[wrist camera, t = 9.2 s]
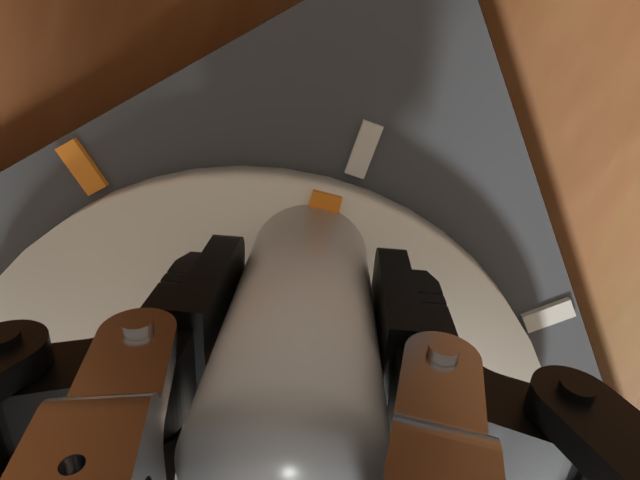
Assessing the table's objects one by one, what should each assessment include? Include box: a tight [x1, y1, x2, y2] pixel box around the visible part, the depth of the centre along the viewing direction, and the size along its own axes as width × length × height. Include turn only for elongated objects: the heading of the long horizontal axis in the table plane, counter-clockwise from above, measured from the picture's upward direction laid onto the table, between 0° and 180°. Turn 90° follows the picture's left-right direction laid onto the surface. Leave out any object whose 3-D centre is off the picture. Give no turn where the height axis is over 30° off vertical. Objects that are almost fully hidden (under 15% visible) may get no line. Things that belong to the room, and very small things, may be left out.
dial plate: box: [0, 0, 603, 382], centre depth 19 cm, size 24×24×2 cm
